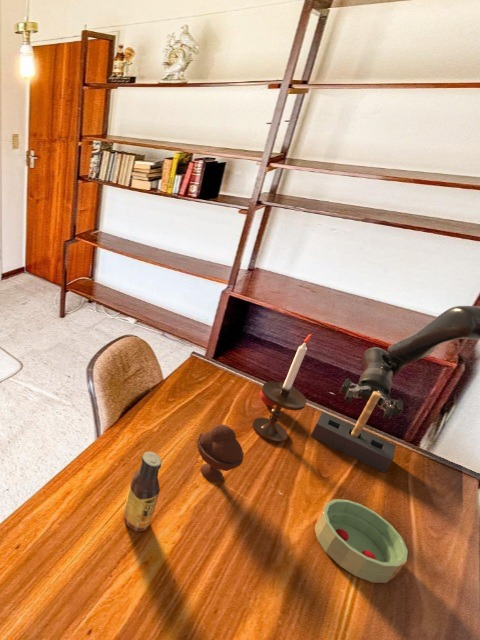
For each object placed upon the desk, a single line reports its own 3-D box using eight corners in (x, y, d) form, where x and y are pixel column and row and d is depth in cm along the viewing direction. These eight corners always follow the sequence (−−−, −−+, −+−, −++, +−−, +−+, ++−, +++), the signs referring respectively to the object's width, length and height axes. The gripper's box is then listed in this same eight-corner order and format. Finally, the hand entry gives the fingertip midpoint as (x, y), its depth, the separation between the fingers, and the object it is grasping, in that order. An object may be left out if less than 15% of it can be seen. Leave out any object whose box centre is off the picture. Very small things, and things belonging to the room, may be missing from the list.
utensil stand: (388, 457, 111) (396, 445, 109) (384, 473, 107) (392, 460, 105) (316, 423, 123) (322, 411, 120) (310, 436, 118) (316, 423, 116)
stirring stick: (352, 446, 115) (381, 393, 106) (351, 450, 114) (380, 396, 105) (345, 443, 116) (373, 390, 107) (344, 446, 115) (372, 393, 106)
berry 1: (347, 538, 90) (351, 532, 89) (345, 546, 88) (349, 539, 87) (334, 530, 91) (338, 524, 90) (332, 538, 90) (336, 531, 89)
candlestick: (280, 420, 123) (320, 324, 108) (296, 447, 113) (343, 347, 98) (243, 415, 124) (278, 320, 109) (256, 442, 115) (296, 342, 100)
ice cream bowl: (180, 462, 107) (193, 421, 101) (212, 452, 111) (226, 411, 105) (210, 496, 98) (225, 454, 92) (243, 483, 102) (260, 442, 96)
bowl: (397, 549, 88) (410, 531, 86) (389, 601, 79) (404, 582, 76) (321, 505, 98) (331, 487, 95) (307, 546, 88) (317, 528, 85)
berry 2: (373, 560, 86) (378, 553, 84) (372, 568, 84) (377, 562, 83) (360, 552, 87) (364, 545, 86) (358, 560, 86) (362, 553, 84)
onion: (272, 399, 132) (279, 380, 128) (280, 412, 126) (288, 392, 123) (254, 397, 132) (261, 379, 129) (261, 410, 127) (269, 390, 123)
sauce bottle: (141, 539, 88) (157, 478, 80) (117, 519, 92) (130, 460, 84) (155, 519, 93) (172, 459, 84) (131, 501, 97) (145, 443, 88)
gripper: (352, 363, 127) (342, 385, 117) (410, 385, 118) (405, 411, 108) (343, 381, 130) (332, 405, 120) (399, 404, 121) (393, 432, 111)
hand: (367, 408), depth 114 cm, fingers open, 8 cm apart
